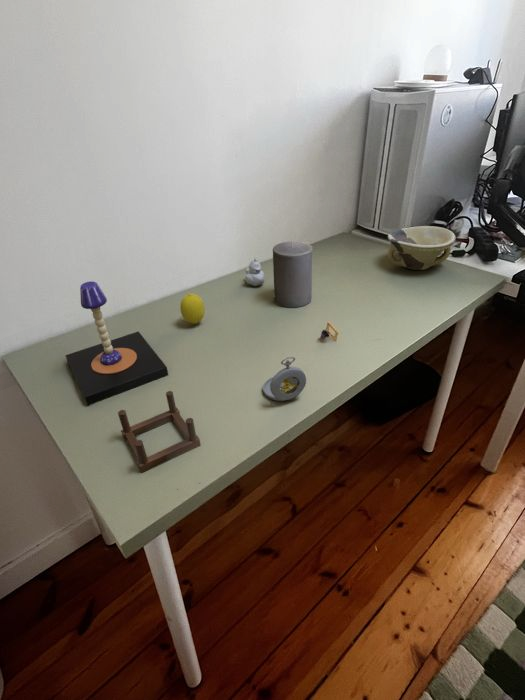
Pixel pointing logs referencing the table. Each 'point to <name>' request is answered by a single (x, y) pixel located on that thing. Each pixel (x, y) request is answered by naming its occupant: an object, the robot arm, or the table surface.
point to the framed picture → (328, 332)
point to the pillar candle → (292, 273)
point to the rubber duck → (254, 274)
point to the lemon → (192, 308)
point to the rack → (142, 427)
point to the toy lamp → (99, 319)
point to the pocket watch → (285, 383)
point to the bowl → (420, 246)
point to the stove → (115, 368)
